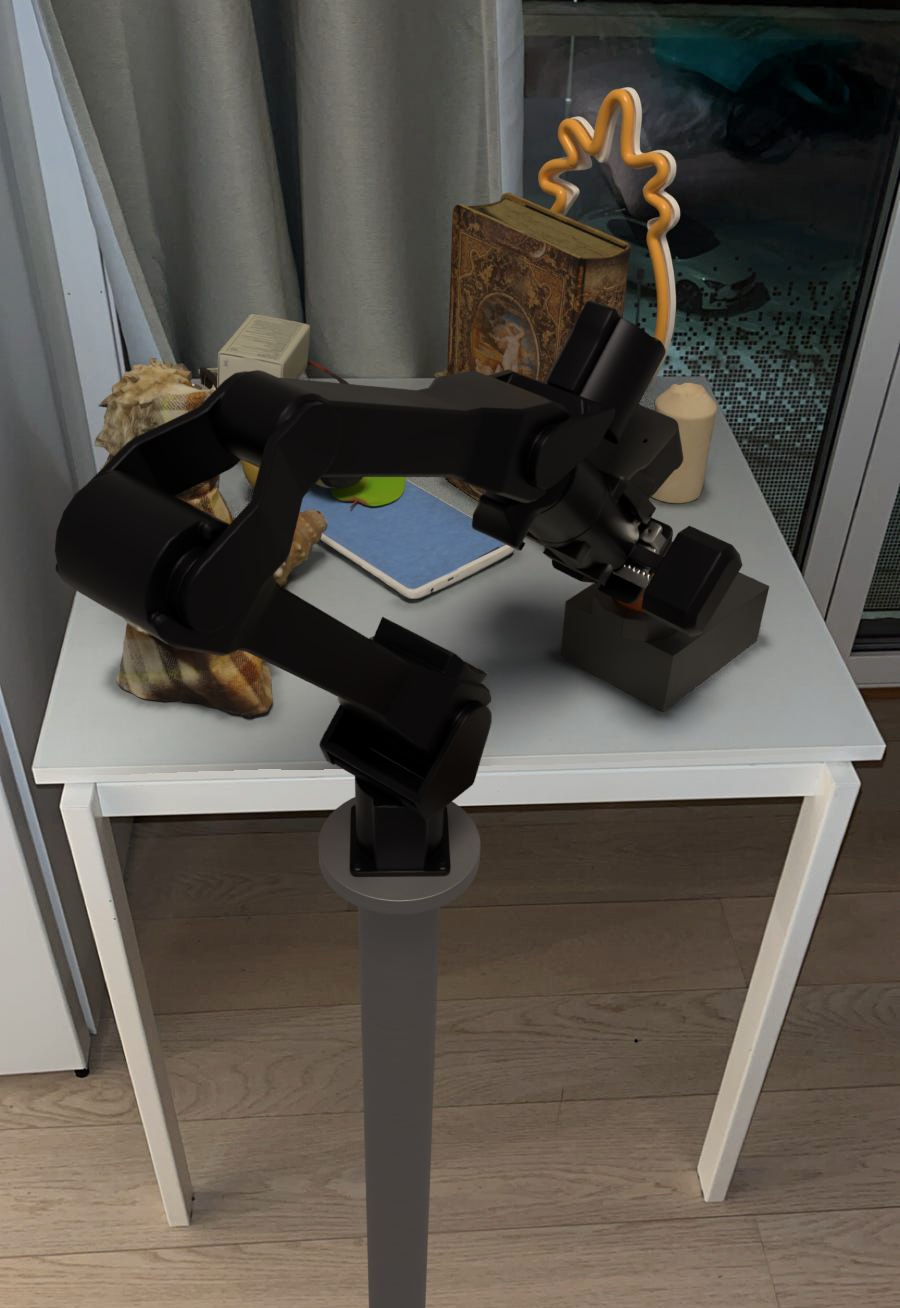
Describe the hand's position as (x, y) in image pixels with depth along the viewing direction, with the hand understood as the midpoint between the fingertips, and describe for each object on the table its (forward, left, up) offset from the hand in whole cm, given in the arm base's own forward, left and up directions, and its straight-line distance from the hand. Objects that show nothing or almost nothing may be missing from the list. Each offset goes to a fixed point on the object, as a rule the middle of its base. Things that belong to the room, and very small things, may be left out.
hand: (644, 579), depth 95 cm
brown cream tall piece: (-1, +34, -8) cm, 35 cm away
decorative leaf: (+24, +20, -4) cm, 32 cm away
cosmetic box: (+46, +29, -1) cm, 54 cm away
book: (+25, +6, -8) cm, 27 cm away
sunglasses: (+40, +27, -8) cm, 49 cm away
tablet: (+20, +18, -8) cm, 28 cm away
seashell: (+13, +30, -8) cm, 33 cm away
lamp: (+37, 0, -8) cm, 38 cm away
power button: (0, 0, -3) cm, 3 cm away
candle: (+28, -8, -8) cm, 31 cm away
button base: (+3, -3, -8) cm, 9 cm away
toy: (+29, +29, -4) cm, 41 cm away
